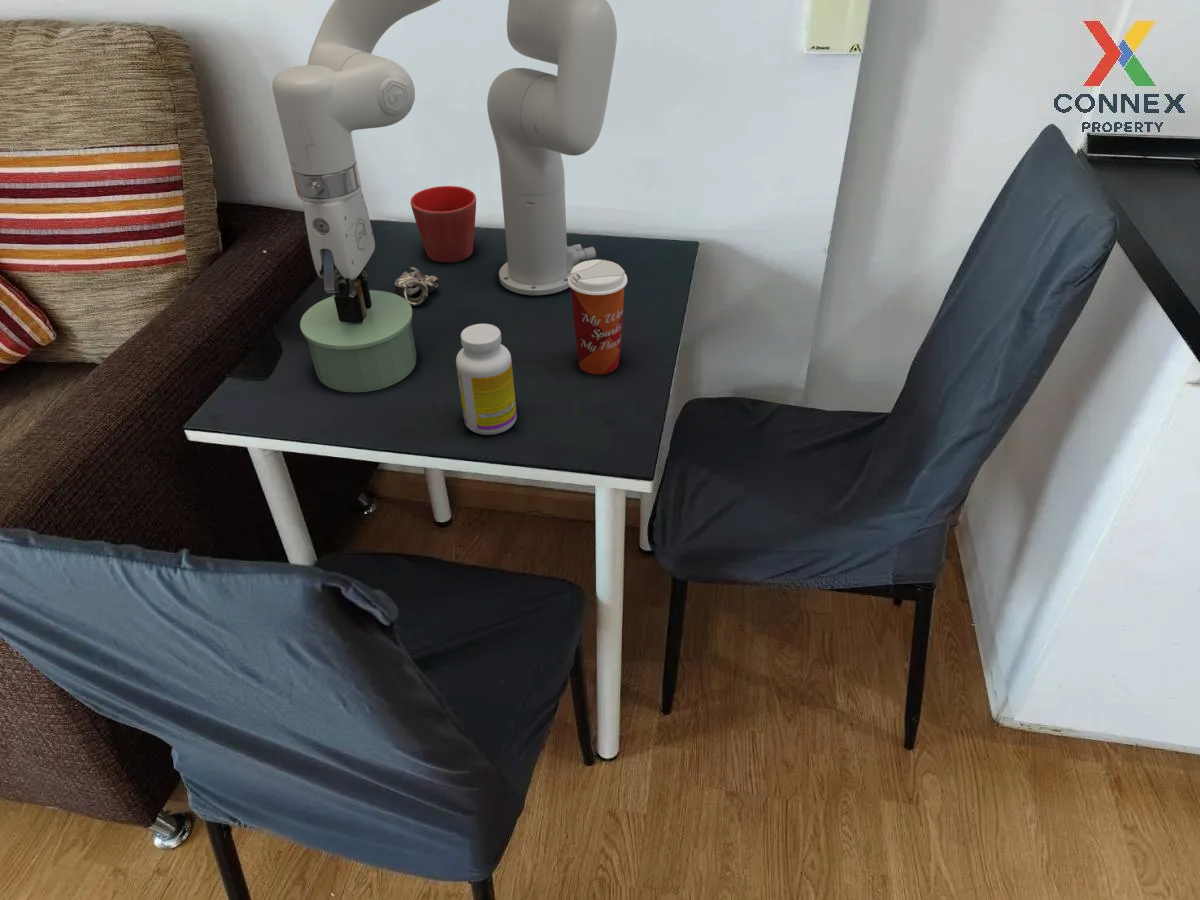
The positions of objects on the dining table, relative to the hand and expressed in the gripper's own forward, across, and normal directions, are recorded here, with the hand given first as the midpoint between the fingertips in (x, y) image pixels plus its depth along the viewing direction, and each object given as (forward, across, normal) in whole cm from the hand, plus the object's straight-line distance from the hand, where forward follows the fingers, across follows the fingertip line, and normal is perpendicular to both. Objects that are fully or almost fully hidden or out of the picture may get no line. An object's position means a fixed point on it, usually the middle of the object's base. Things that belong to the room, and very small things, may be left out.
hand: (355, 313), depth 114 cm
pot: (+8, 0, 0) cm, 8 cm away
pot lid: (+1, 0, 0) cm, 1 cm away
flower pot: (+8, +35, -4) cm, 36 cm away
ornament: (+8, +20, -2) cm, 22 cm away
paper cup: (+8, +2, -32) cm, 33 cm away
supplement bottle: (+8, -12, -20) cm, 24 cm away
